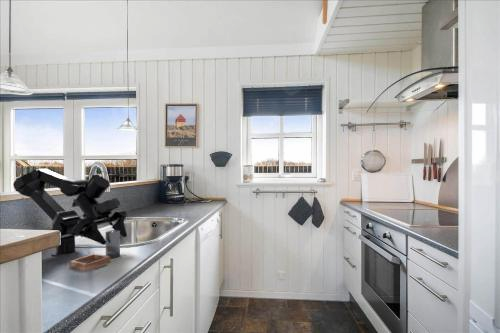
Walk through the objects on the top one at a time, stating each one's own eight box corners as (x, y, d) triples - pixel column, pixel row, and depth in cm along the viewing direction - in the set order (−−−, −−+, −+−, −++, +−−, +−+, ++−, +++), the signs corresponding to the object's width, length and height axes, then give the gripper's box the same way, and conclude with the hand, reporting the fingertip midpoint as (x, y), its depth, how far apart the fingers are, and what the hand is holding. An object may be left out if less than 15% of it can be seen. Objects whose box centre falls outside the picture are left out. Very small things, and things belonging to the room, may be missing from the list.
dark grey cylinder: (102, 258, 90) (102, 232, 90) (114, 254, 94) (114, 229, 94) (111, 259, 88) (111, 233, 88) (122, 255, 92) (122, 230, 92)
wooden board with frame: (64, 269, 82) (64, 260, 82) (109, 253, 96) (109, 246, 96) (88, 275, 77) (88, 266, 77) (132, 258, 91) (132, 251, 91)
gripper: (79, 194, 83) (107, 230, 80) (123, 189, 101) (147, 219, 98) (61, 217, 85) (87, 254, 82) (107, 209, 103) (130, 238, 100)
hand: (116, 240), depth 90 cm, fingers open, 9 cm apart
